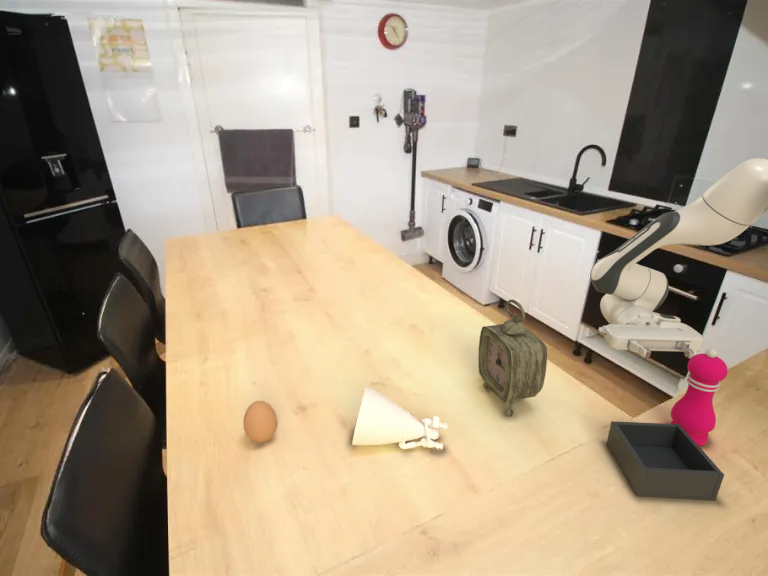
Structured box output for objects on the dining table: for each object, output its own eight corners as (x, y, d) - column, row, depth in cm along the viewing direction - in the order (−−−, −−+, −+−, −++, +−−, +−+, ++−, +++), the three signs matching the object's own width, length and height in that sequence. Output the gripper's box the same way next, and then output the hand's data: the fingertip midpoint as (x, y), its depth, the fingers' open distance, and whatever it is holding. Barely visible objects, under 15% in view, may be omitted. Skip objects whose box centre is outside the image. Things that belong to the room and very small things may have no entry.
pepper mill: (696, 453, 79) (724, 362, 72) (658, 430, 85) (681, 345, 78) (717, 440, 82) (745, 352, 75) (678, 419, 88) (702, 336, 81)
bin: (673, 447, 80) (679, 424, 78) (715, 500, 69) (724, 474, 67) (606, 444, 82) (611, 421, 80) (636, 496, 70) (643, 470, 68)
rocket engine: (456, 402, 80) (367, 380, 80) (447, 465, 74) (351, 440, 75) (445, 414, 90) (365, 394, 91) (436, 469, 84) (352, 448, 85)
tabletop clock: (476, 385, 102) (482, 292, 93) (508, 380, 104) (518, 287, 95) (506, 422, 88) (517, 317, 80) (543, 415, 90) (557, 311, 82)
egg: (244, 434, 87) (238, 398, 84) (276, 425, 89) (271, 389, 86) (248, 454, 81) (242, 416, 78) (282, 444, 84) (277, 407, 80)
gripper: (597, 315, 102) (622, 341, 90) (684, 316, 101) (722, 343, 88) (593, 337, 105) (617, 366, 92) (678, 339, 103) (715, 368, 90)
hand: (669, 355), depth 90 cm, fingers open, 8 cm apart
